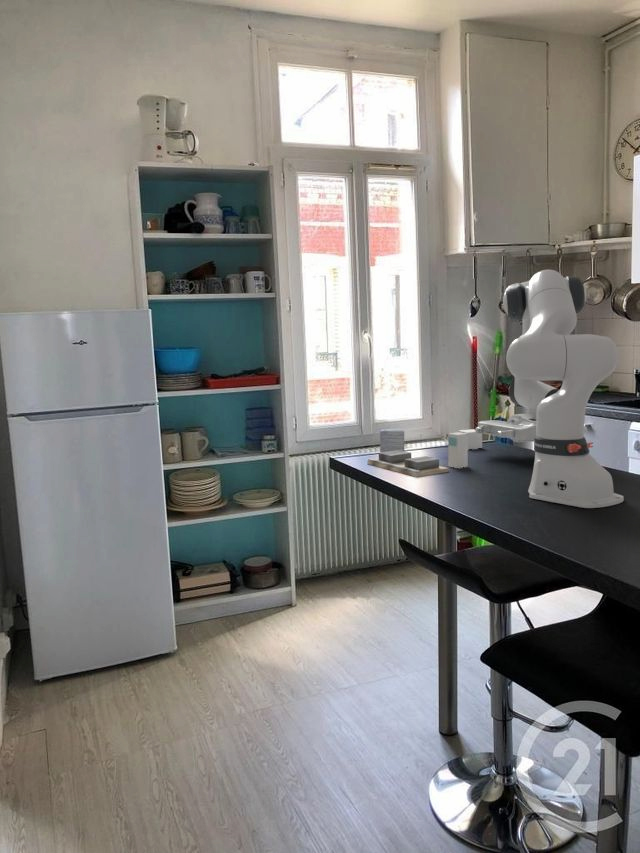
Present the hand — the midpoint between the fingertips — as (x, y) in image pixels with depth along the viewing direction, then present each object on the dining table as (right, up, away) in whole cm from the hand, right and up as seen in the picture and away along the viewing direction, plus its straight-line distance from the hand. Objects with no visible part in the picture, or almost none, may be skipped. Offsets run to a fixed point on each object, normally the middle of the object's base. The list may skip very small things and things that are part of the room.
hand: (487, 432), depth 214 cm
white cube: (0, -6, +26) cm, 27 cm away
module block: (-10, -10, -5) cm, 15 cm away
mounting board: (-25, -10, -5) cm, 28 cm away
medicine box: (-28, -8, +15) cm, 32 cm away
